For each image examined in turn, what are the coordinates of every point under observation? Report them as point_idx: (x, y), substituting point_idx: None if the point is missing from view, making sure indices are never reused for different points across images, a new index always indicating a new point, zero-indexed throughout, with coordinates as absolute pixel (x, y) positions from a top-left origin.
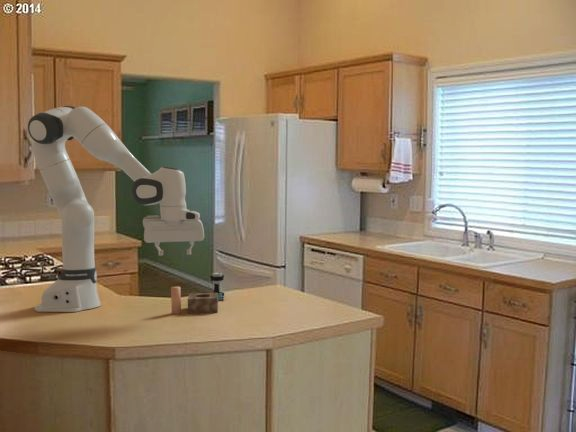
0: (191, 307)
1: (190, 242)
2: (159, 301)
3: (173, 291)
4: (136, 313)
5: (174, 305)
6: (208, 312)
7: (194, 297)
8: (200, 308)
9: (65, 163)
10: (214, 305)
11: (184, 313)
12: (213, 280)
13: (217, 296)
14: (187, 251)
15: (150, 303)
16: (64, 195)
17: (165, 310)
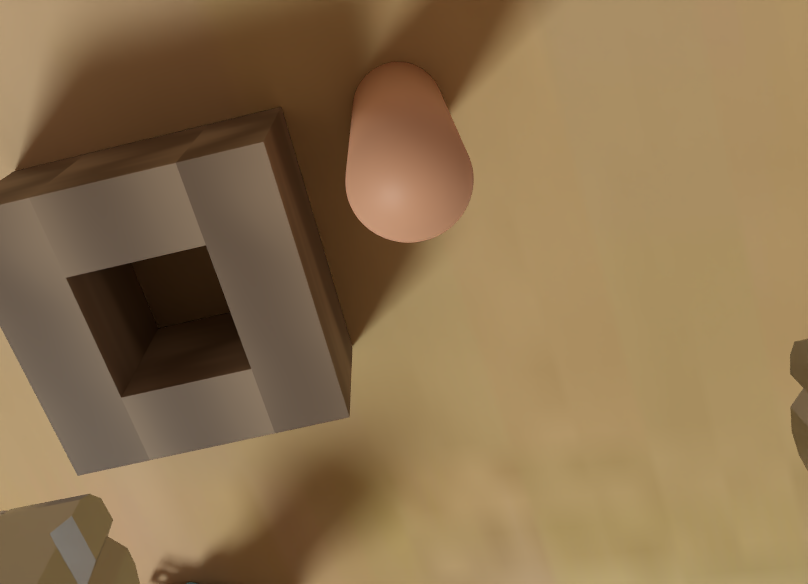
0: (238, 128)
1: None
2: (672, 512)
3: (419, 108)
4: (786, 69)
5: (403, 76)
6: (92, 152)
7: (218, 231)
8: (154, 146)
9: None
10: (8, 185)
11: (317, 110)
12: None
13: (27, 359)
14: (26, 553)
15: (731, 445)
16: None
17: (537, 215)
